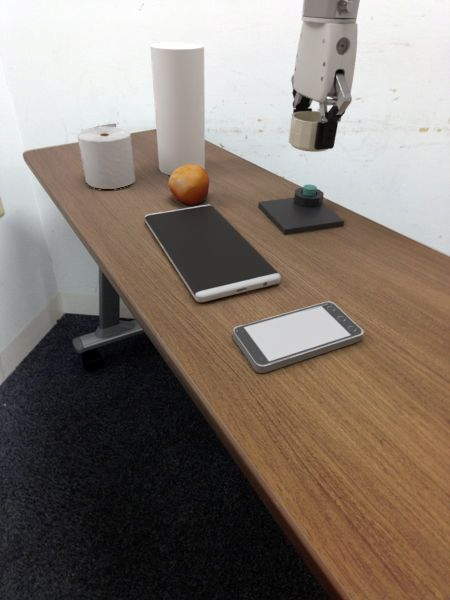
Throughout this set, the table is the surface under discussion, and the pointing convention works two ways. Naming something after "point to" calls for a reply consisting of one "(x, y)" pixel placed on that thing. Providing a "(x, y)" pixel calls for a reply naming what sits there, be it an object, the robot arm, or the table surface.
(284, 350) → the smartphone
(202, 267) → the tablet
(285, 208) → the scale
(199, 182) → the fruit
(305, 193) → the button
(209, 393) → the table surface
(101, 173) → the toilet tissue
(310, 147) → the bowl
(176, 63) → the tall pillar cylinder
